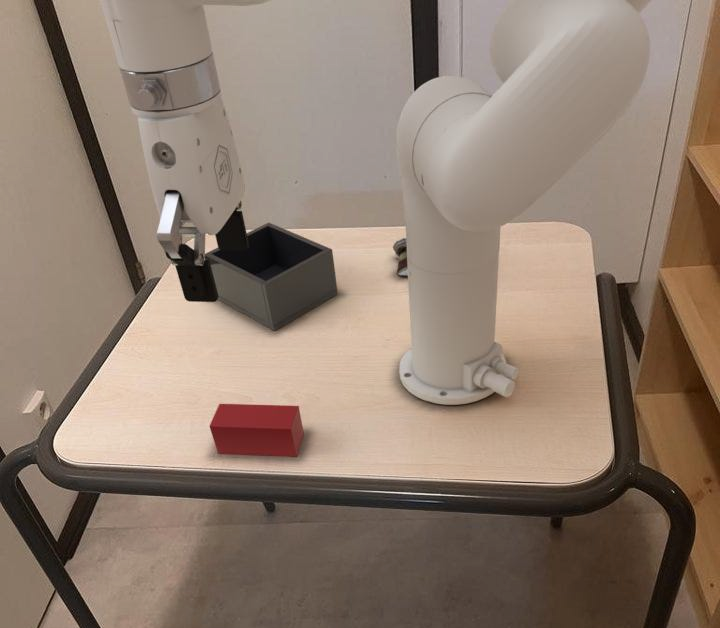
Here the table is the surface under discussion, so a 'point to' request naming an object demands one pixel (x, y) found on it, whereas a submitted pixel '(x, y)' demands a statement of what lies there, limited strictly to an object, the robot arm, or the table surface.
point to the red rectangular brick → (257, 429)
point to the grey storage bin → (274, 276)
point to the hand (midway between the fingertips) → (219, 273)
